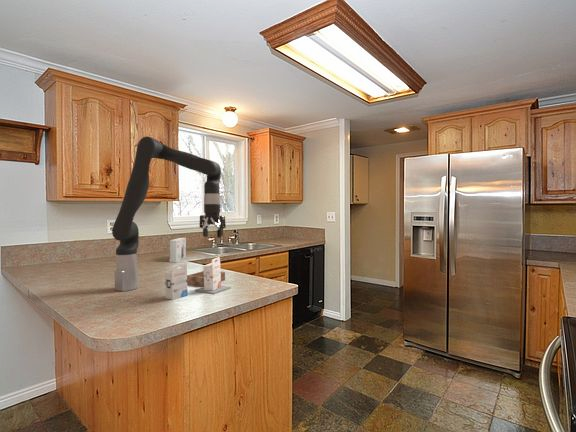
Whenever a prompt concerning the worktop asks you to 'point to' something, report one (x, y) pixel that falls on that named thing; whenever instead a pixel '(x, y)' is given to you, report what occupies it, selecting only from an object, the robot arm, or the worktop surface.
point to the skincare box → (177, 249)
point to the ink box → (176, 282)
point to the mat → (220, 289)
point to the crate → (200, 278)
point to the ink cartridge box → (212, 275)
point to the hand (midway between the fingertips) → (212, 237)
